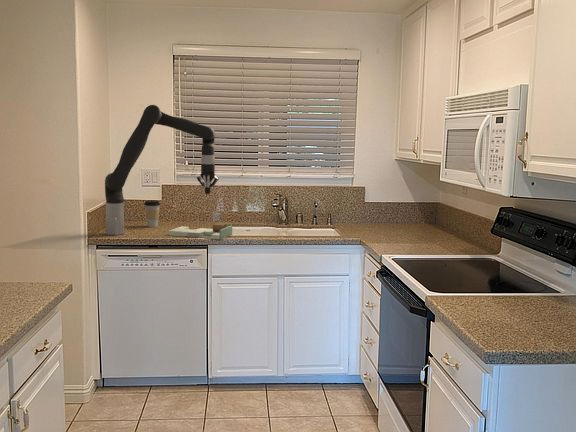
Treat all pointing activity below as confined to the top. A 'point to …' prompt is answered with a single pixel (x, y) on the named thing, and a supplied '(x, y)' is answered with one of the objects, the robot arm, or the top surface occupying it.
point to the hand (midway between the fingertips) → (207, 194)
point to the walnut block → (219, 226)
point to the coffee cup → (152, 213)
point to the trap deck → (201, 232)
